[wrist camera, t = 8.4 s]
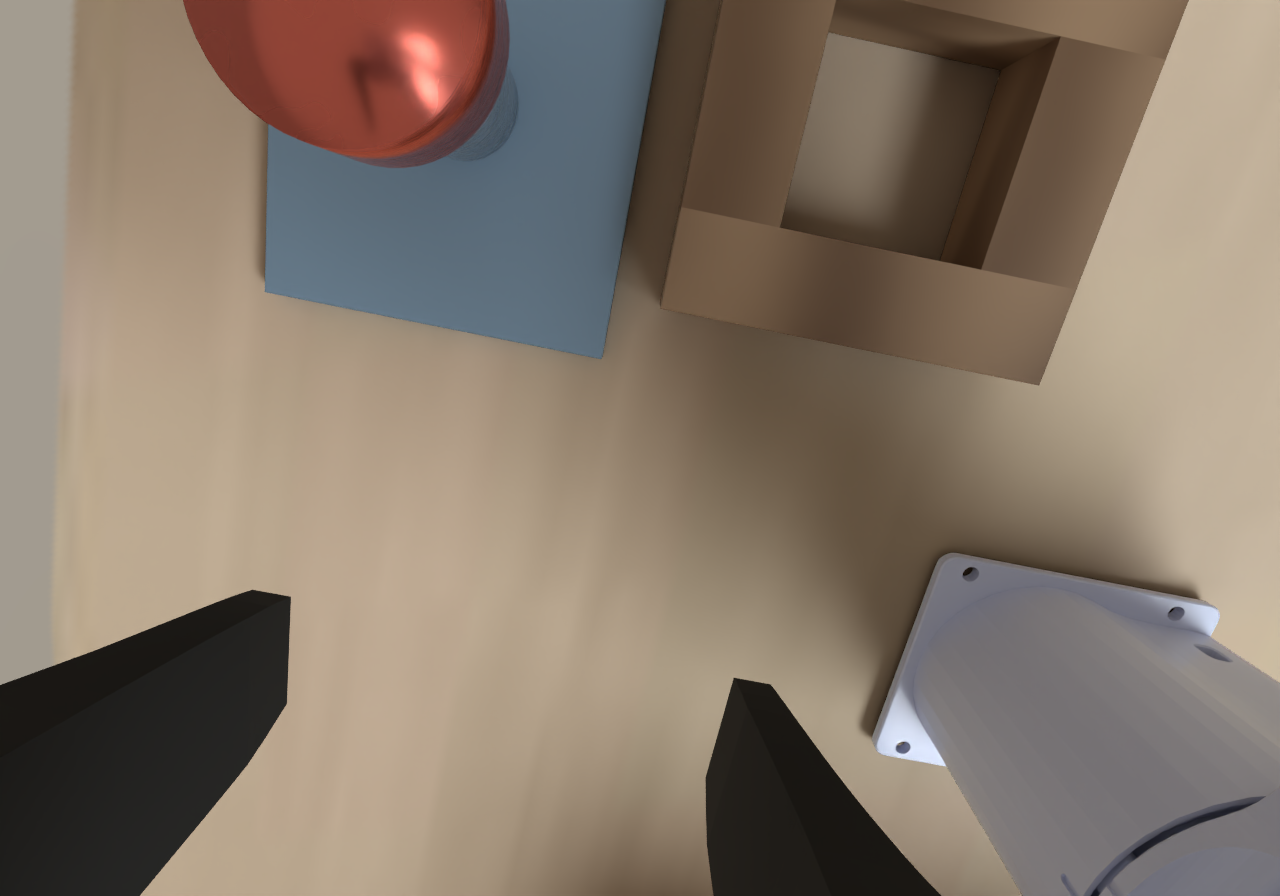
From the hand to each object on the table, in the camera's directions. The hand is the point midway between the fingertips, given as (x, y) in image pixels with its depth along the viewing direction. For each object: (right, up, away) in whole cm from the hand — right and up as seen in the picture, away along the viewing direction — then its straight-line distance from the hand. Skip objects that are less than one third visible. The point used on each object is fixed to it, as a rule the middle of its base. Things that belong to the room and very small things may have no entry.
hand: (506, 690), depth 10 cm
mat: (-3, +13, +7) cm, 15 cm away
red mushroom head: (-3, +13, +6) cm, 15 cm away
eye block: (+9, +12, +7) cm, 16 cm away
